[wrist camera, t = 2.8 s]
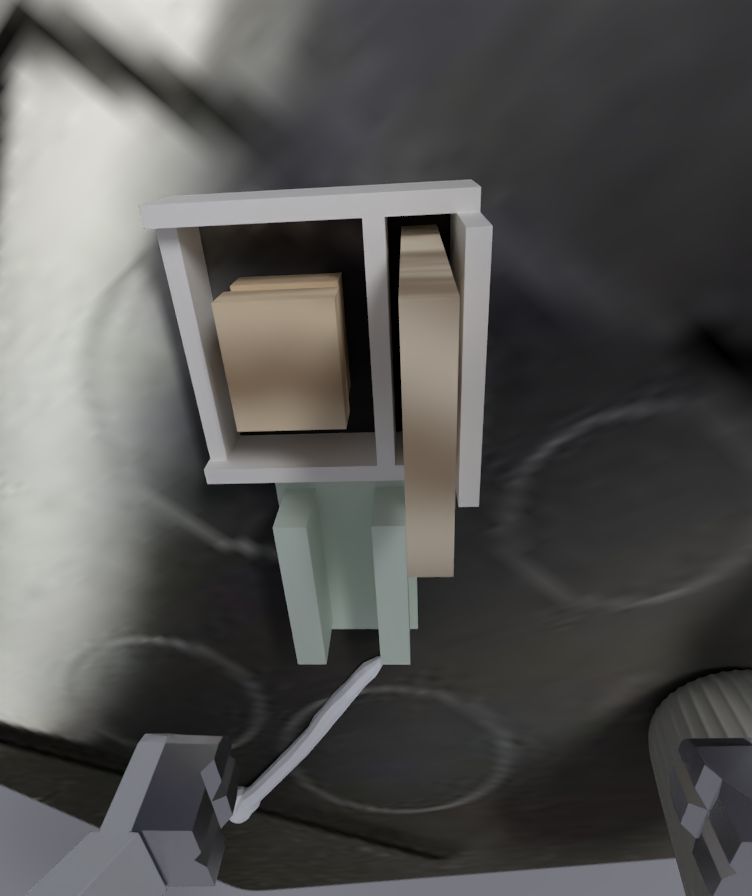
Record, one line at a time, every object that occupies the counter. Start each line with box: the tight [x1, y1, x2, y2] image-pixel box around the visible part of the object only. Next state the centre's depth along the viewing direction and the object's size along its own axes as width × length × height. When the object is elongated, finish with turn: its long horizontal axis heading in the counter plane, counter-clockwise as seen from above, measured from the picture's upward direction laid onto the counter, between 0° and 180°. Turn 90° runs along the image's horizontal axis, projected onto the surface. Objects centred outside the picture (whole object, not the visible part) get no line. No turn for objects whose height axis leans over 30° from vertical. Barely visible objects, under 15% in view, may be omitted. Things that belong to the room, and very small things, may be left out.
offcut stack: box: [211, 273, 351, 432], centre depth 29 cm, size 7×6×6 cm
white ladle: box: [229, 656, 382, 823], centre depth 50 cm, size 28×4×3 cm, turn 149°
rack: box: [138, 179, 493, 507], centre depth 28 cm, size 15×15×8 cm
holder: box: [273, 480, 418, 665], centre depth 37 cm, size 14×9×5 cm, turn 3°
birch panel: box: [398, 224, 460, 577], centre depth 25 cm, size 11×2×14 cm, turn 3°
